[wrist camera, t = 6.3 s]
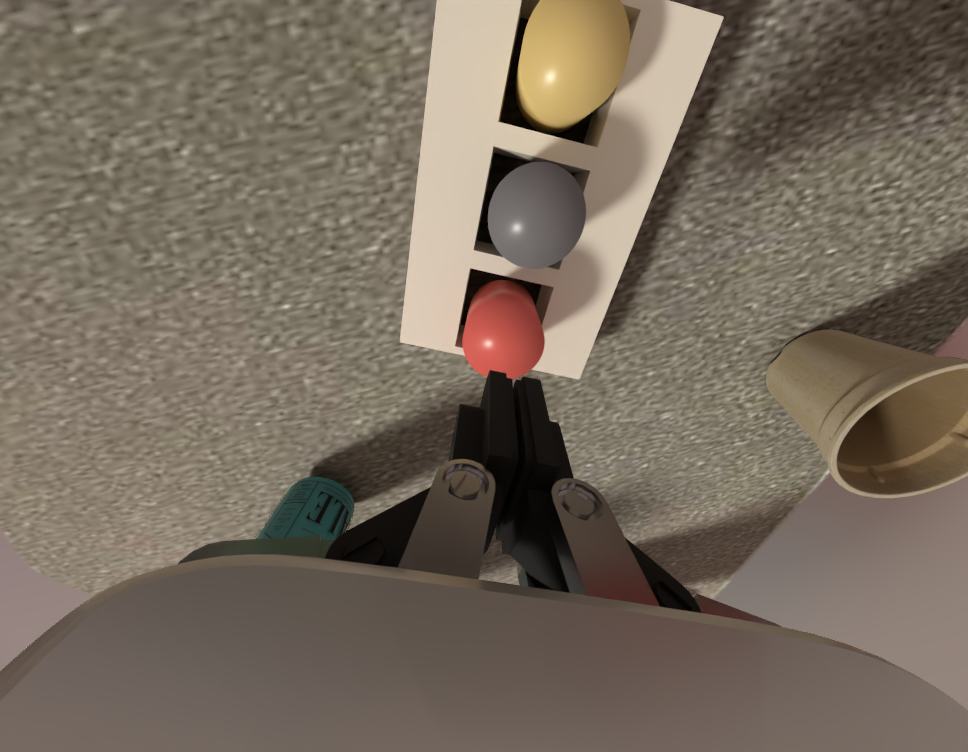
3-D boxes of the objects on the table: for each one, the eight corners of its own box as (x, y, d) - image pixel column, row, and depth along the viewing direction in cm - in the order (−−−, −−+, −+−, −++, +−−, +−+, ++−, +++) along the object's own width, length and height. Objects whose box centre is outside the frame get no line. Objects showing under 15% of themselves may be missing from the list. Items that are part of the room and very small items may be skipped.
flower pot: (780, 436, 30) (876, 521, 22) (715, 373, 27) (800, 445, 20) (900, 361, 26) (1065, 432, 19) (840, 279, 24) (1003, 324, 16)
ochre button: (609, 42, 17) (648, -6, 13) (580, 142, 19) (605, 129, 15) (527, 19, 17) (538, -39, 13) (506, 122, 19) (510, 103, 15)
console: (680, 49, 18) (724, 16, 15) (568, 354, 27) (579, 379, 23) (454, -16, 17) (444, -68, 14) (412, 321, 26) (399, 342, 22)
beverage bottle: (287, 493, 35) (76, 803, 17) (310, 451, 32) (87, 768, 15) (347, 519, 37) (210, 828, 19) (374, 481, 34) (243, 800, 16)
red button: (543, 288, 21) (555, 314, 17) (525, 349, 23) (531, 386, 19) (476, 272, 21) (471, 295, 17) (463, 336, 23) (455, 371, 19)
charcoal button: (576, 178, 19) (601, 175, 14) (552, 258, 21) (567, 277, 16) (499, 158, 18) (500, 150, 14) (482, 241, 20) (478, 257, 16)
